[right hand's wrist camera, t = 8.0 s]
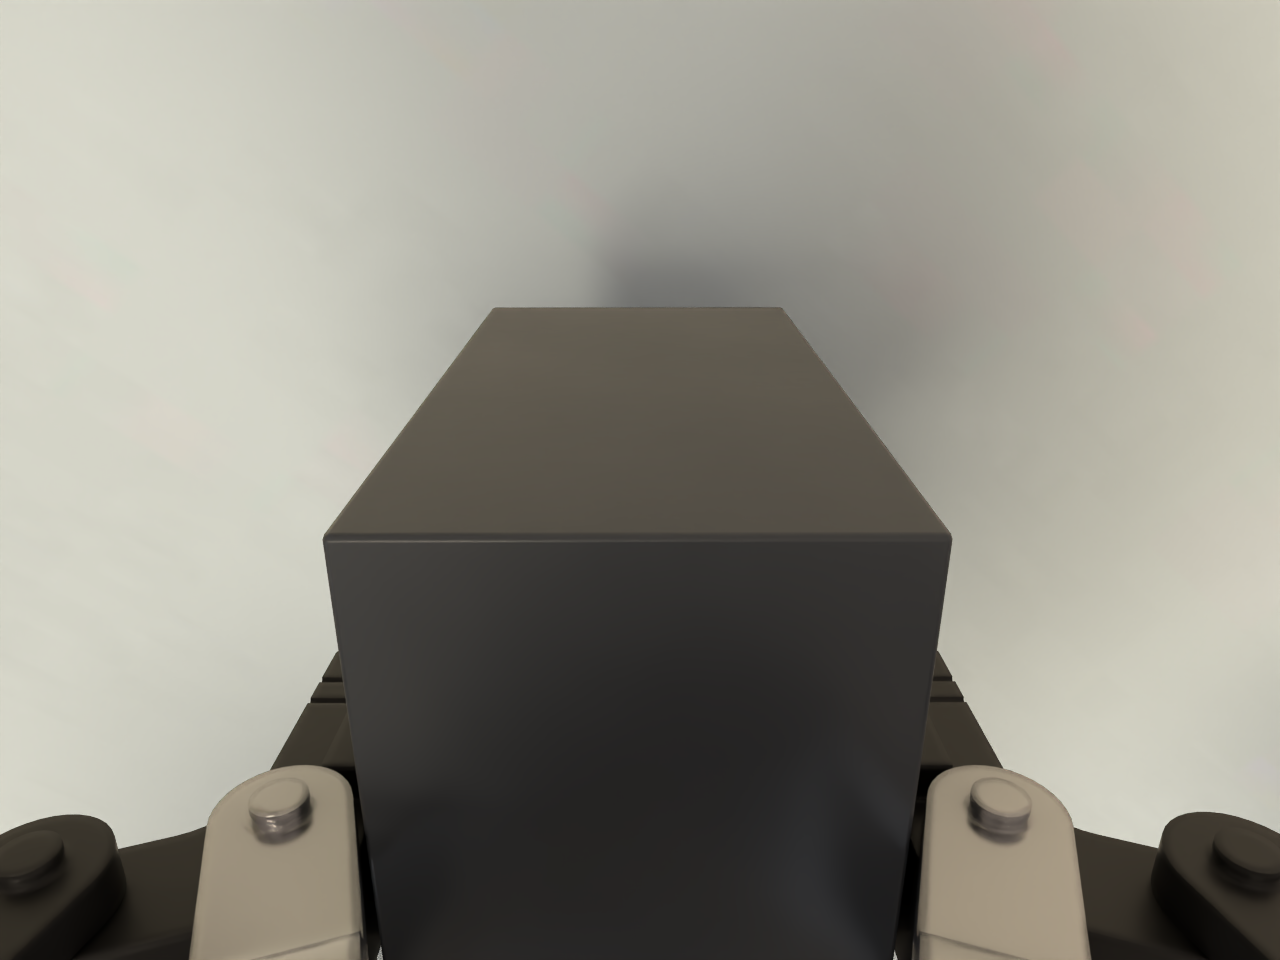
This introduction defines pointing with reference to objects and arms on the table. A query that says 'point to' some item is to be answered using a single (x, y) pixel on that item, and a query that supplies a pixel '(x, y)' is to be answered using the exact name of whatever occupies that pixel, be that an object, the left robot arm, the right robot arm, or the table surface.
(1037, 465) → the table surface
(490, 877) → the bar
